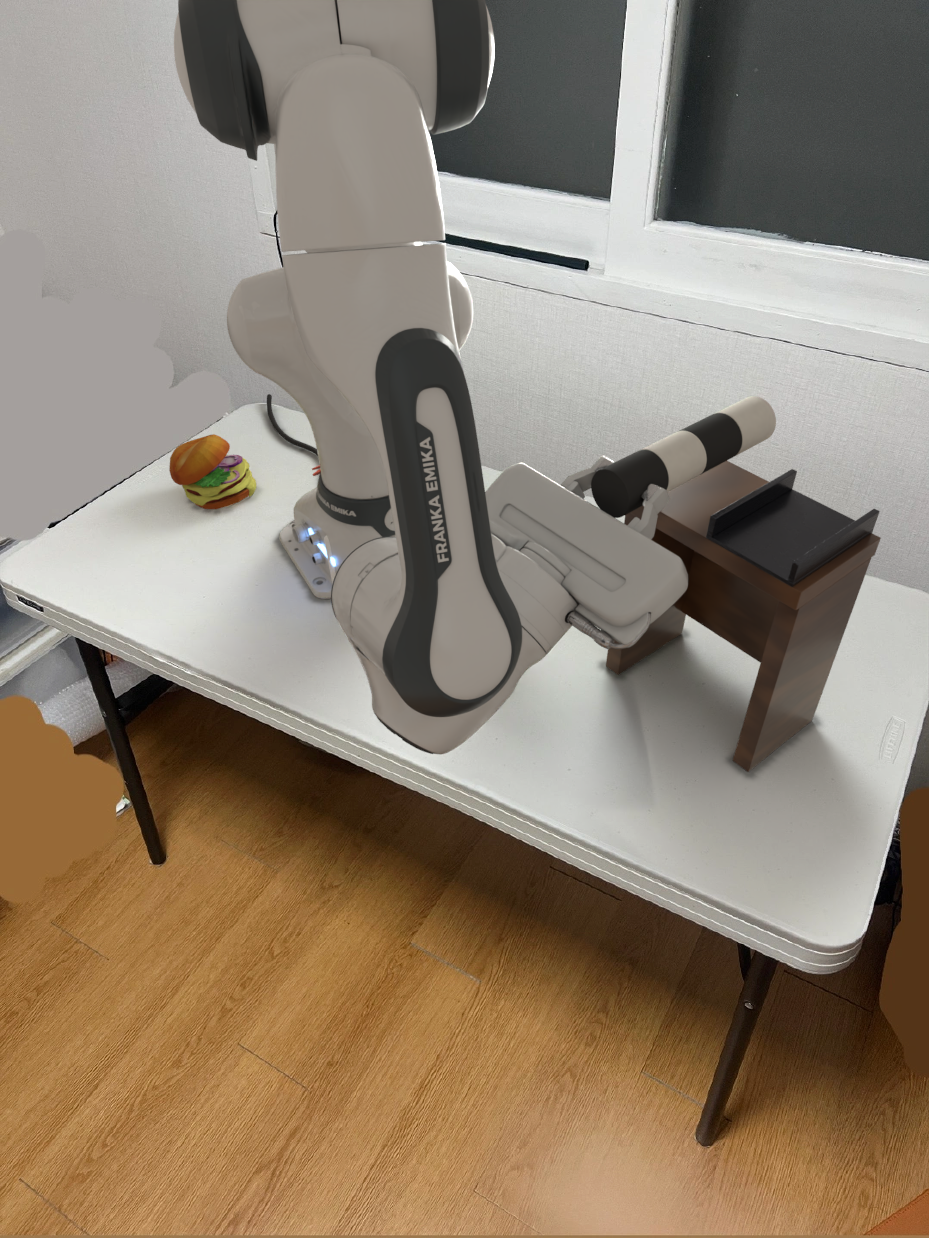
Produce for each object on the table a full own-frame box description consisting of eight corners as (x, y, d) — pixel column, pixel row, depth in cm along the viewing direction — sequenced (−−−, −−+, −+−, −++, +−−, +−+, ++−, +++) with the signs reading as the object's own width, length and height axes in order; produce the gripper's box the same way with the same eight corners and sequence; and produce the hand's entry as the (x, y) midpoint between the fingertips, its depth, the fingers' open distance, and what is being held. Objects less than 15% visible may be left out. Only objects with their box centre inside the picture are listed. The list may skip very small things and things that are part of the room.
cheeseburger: (252, 513, 126) (222, 454, 119) (184, 528, 128) (150, 471, 121) (265, 473, 133) (237, 416, 127) (200, 488, 135) (169, 432, 129)
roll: (625, 526, 76) (631, 482, 73) (588, 504, 78) (592, 461, 75) (770, 447, 85) (780, 405, 82) (733, 430, 88) (742, 389, 85)
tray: (705, 537, 80) (710, 515, 79) (786, 489, 86) (792, 468, 84) (792, 587, 75) (798, 565, 73) (872, 533, 80) (880, 511, 79)
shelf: (602, 668, 102) (624, 491, 86) (672, 623, 108) (705, 449, 92) (745, 774, 90) (801, 592, 74) (815, 718, 96) (881, 537, 80)
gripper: (608, 643, 67) (727, 508, 68) (441, 522, 79) (544, 409, 80) (629, 675, 72) (739, 549, 73) (469, 558, 84) (565, 451, 85)
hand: (636, 475), depth 77 cm, fingers closed on roll, 4 cm apart
